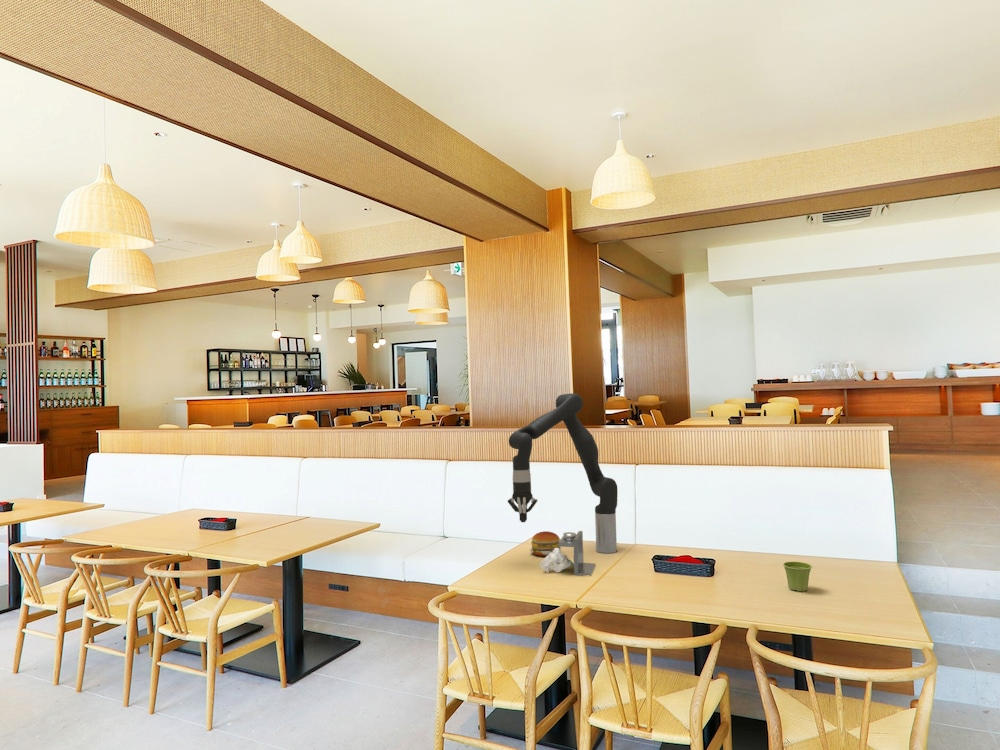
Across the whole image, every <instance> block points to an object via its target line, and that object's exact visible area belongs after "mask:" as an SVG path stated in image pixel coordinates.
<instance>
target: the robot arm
mask: <svg viewBox="0 0 1000 750" xmlns="http://www.w3.org/2000/svg"><path fill="white" fill-rule="evenodd" d="M583 405H584V401H583V398H582V397H581V396H580V395H579V394H578V393H563V394H560V395H558V396H557V397H556V400H555V407H556V408H554V409H552V410H550V411H549V412H545V413H543V414H542V415H540V416H538V417H537V418H535V419H534V420H532V421H531V422H529V424H528V425H525V426H523V427H521V428H519V429H517V430H516V431H514V432H513V433H511V434H510V436H509V438H508V444H509V446H510V448H512V449H514V450H517V454H516V455H514V456H513V458H512V495H511V497H510V498H508V499H507V503H508V505H509V506H511V508H512V509H513V511H514V512H515V513H518V514H519V515H518V516H519V522H520V523H525V522H527V519H528V514H527V513H529V512H531V510H533V508H534V507H535V505H536V504H537V503H538V499H537V498H535V497H534V496H533V494H532V480H531V479H532V477H531V476H532V474H531V468H530V465H531V462H530V460H531V459H530V458H531V454H532V451H533V450H532V449H533V440H537V439H538V438H540V437H542V436H543V435H544V434H545V433H547V432H548V431H549V430H551V429H552V428H553V427H555V426H556V425H558V424H559V423H561V422H562V421H563V423H564V425H565V428H566V429H567V431H568V433H569V436H570V437H571V440H572V442H573V445H574V448H575V451H576V452H577V454H578V456H579V459H580V461H581V464H582V466H583V469H584V471H585V473H586V476H587V479H588V483H589V486H590V490H591V491H592V493H593V495H595V496H596V497H598V498H599V504H597V505H596V506H595V507H594V515H595V516H594V517H595V546H596V547H595V551H596V552H598V553H601V554H614V553H616V552H617V549H618V547H617V516H616V515H617V513H616V511H617V507H618V484H617V482H616V481H615V479H613V478H611V477H605V475H604V474H603V472H602V470H601V467H600V464H599V448H598V446H597V443H596V441H595V438H594V437H593V435H592V434H591V432H590V431H589V430H588V429H587V428H586V427H585V426H584V425H583V423H581V422H580V420H579V418H578V416H577V414H578V413H580V412H581V410H582V409H583ZM529 503H531V504H530V505H529V507H528V504H529ZM516 504H517V505H516Z"/></svg>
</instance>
